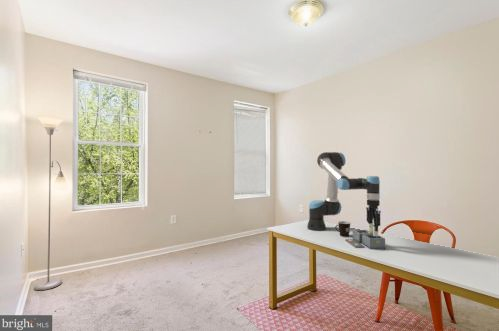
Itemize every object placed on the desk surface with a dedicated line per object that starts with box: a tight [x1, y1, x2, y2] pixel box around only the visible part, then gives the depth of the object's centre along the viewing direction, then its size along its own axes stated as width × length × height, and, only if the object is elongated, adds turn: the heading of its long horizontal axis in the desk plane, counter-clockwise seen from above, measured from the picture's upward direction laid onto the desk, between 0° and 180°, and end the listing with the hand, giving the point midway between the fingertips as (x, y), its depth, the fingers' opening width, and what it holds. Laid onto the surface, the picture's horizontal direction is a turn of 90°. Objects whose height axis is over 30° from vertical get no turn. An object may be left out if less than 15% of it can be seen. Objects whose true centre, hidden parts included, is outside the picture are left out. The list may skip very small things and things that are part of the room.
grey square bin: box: [352, 229, 369, 244], centre depth 179 cm, size 10×10×6 cm
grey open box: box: [361, 234, 386, 250], centre depth 167 cm, size 10×10×6 cm
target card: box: [344, 238, 366, 249], centre depth 172 cm, size 16×6×1 cm, turn 3°
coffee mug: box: [335, 220, 351, 238], centre depth 192 cm, size 12×9×10 cm
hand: (373, 234), depth 167 cm, fingers open, 5 cm apart
